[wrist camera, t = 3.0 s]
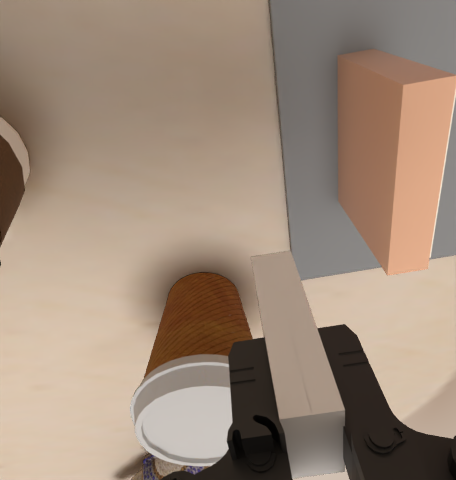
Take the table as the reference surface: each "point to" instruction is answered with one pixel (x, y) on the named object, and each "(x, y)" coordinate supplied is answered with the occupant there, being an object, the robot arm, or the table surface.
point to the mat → (326, 115)
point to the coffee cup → (11, 174)
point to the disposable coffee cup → (191, 373)
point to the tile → (393, 153)
